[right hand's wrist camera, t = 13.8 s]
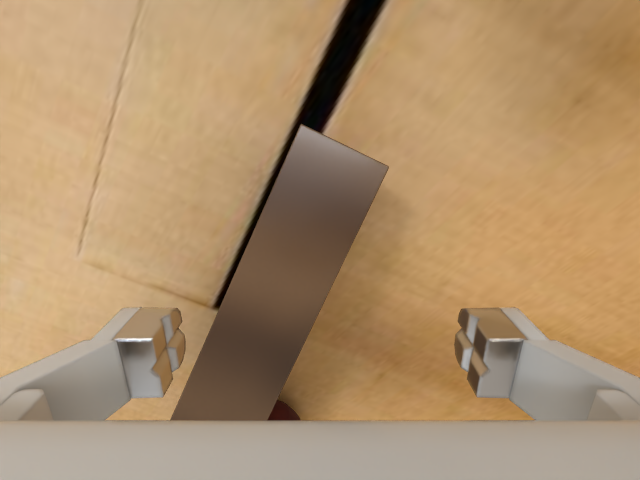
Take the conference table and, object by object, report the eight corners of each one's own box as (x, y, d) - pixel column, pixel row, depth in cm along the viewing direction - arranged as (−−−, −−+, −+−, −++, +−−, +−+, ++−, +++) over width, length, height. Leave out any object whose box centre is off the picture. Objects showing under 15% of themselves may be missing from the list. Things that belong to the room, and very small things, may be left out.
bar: (303, 141, 28) (301, 123, 20) (366, 172, 29) (389, 166, 21) (176, 426, 32) (129, 511, 24) (235, 449, 32) (209, 539, 24)
